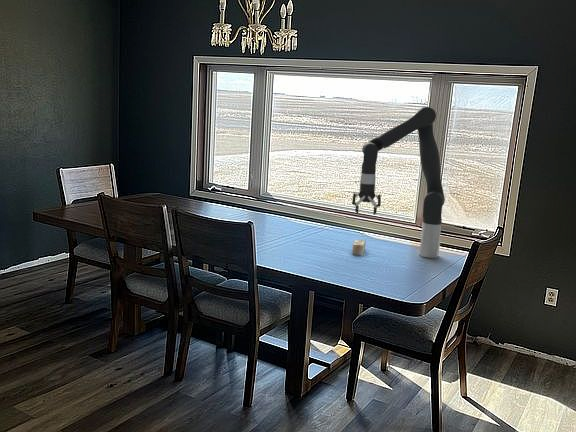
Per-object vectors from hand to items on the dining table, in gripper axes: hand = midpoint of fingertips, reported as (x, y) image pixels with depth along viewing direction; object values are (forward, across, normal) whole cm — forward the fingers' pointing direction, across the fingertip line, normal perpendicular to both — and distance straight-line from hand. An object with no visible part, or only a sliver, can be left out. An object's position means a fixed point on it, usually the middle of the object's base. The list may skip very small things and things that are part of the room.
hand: (365, 213), depth 299 cm
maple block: (+17, +2, +9) cm, 19 cm away
